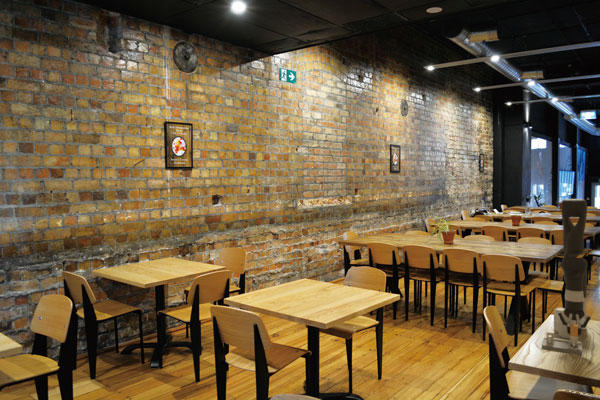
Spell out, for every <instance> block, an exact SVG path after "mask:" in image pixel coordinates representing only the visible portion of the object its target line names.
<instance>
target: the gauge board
mask: <svg viewBox="0 0 600 400" xmlns="http://www.w3.org/2000/svg"><path fill="white" fill-rule="evenodd" d="M541 349H545V350H550V351H557V352H563V353H569V354H574V355H581V356H583V343H581V341H578V346H575V348H573V346H572V345H570V339H564V338H555V331H554V330H551V329H547V330H546V336H545V337H543V339H542V343H541Z"/></svg>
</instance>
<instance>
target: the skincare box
mask: <svg viewBox="0 0 600 400" xmlns="http://www.w3.org/2000/svg"><path fill="white" fill-rule="evenodd" d="M564 310H565V307H557V308H554V309H553V331H554V333H559V315H558V313H559V312H563V311H564Z"/></svg>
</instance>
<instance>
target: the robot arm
mask: <svg viewBox="0 0 600 400" xmlns="http://www.w3.org/2000/svg"><path fill="white" fill-rule="evenodd" d="M587 215H588V203H587V200H585V198H584V199H583V198H567V199H565V198H564V199H563V200H562V201H561V217H562V229H563V231H562V235H563V236H562V244H563V245H562V246H563V258H562V261H561V263H560V266H561V269H562V270H563V281H564V282H565V292H564V309H565V310H564V311H563V312H559V313H558V315H559V317H560V319H561V321H562V323H563V325H566V326H567V333H569V335H570V323H571V320H575V321H576V325H578V337H580V336H582V330H586V329H587V325H588V323H589V322H590V321H591V315H588V314H587V312H588V310H587V308H588V307H587V305H588V303H587V300H588V299H587V296H588V295H587V293H588V292H587V285H588V284H587V282H588V265H589V264H588V261H587V260H586V259H585V258H582V257H579V256H580V255H582V254H583V252H584V247H585V243H584V242H585V241H584V240H585V239H584V234H585V229H586V222H587ZM571 218H578V221H577V223H576V224H575V225H574V224H573V222H572V220H571ZM564 314H565V315H566V316H567V317H568V323H567V322H565V320H564V317H563V316H564Z"/></svg>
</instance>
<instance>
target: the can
mask: <svg viewBox="0 0 600 400" xmlns="http://www.w3.org/2000/svg"><path fill="white" fill-rule="evenodd" d="M563 317H564V320H565V322H567V323H568V317H567V316H566V315H565V314H564V316H563ZM571 324H575V325H576V321H575V320H571V323H570V325H571ZM558 335H559V336H560V338H561V339H564V340H570V335H569V333H567V326H566V325H563V323H562V321H561V319H560V317H559V332H558Z"/></svg>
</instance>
